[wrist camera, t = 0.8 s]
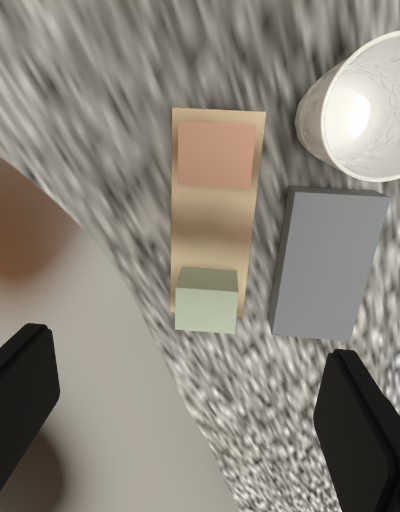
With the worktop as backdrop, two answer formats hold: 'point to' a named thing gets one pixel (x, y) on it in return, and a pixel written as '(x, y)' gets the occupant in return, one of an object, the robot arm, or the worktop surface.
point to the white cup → (357, 113)
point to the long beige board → (213, 209)
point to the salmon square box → (215, 154)
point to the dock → (324, 260)
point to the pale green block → (206, 300)
